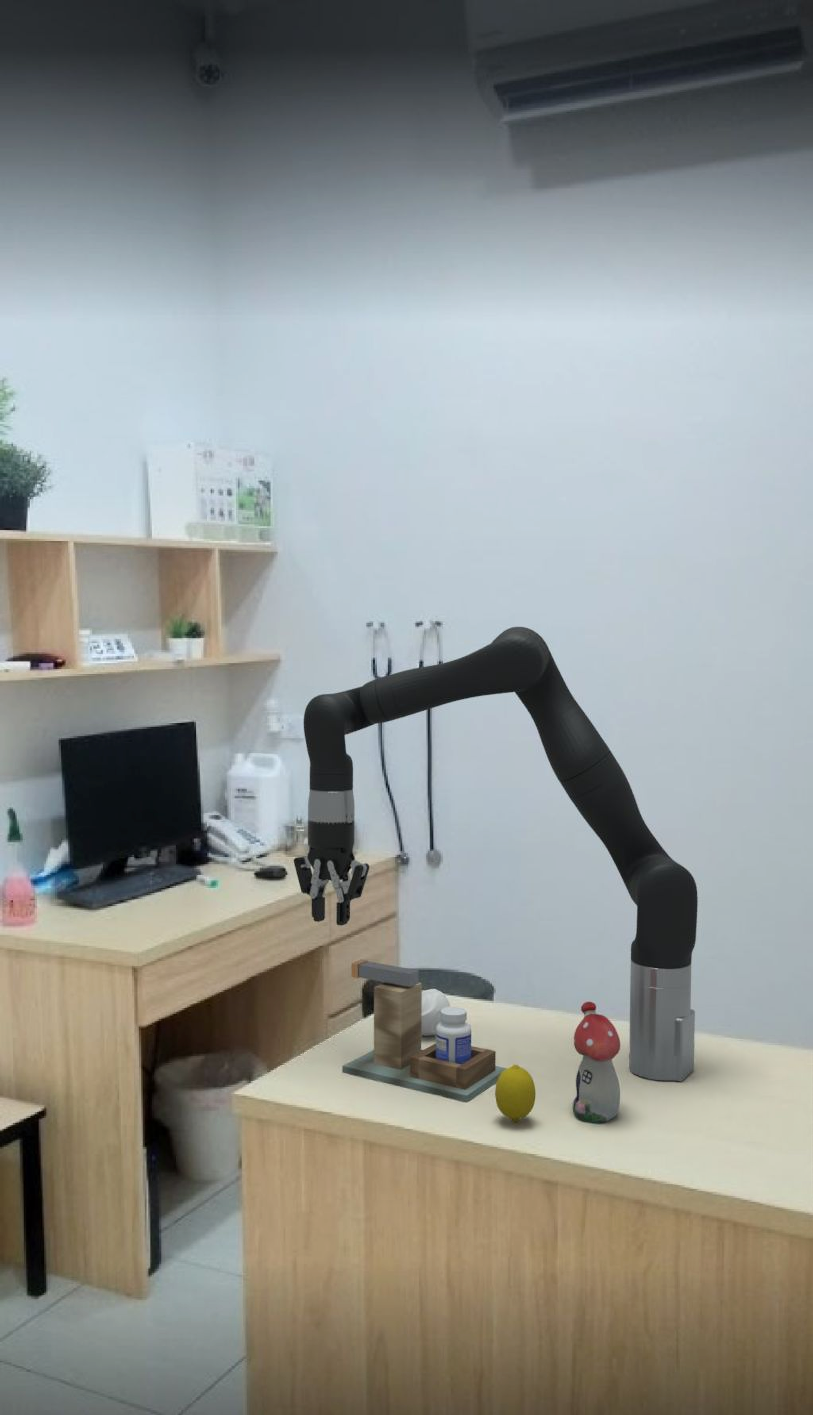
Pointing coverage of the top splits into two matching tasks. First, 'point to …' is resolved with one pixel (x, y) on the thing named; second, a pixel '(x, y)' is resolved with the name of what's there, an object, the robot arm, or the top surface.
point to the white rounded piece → (432, 1010)
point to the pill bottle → (453, 1036)
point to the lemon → (515, 1093)
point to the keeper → (385, 973)
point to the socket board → (418, 1051)
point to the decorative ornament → (596, 1067)
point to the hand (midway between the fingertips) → (330, 922)
